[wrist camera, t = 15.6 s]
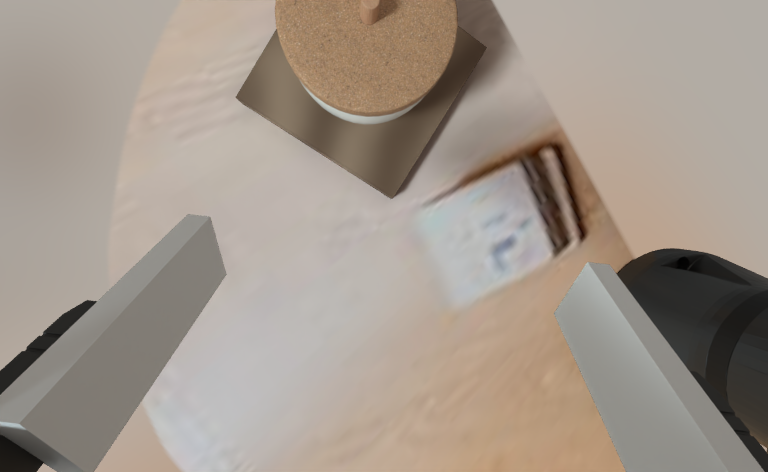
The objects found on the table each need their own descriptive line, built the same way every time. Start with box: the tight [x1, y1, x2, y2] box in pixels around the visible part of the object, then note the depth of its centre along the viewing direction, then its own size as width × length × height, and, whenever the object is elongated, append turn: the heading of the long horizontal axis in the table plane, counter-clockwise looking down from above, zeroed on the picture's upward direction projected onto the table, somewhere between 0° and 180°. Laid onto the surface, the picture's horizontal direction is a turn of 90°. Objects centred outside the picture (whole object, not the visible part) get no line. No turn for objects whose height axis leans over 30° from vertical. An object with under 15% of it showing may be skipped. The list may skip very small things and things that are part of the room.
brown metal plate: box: [236, 26, 487, 199], centre depth 27 cm, size 15×15×2 cm
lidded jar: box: [275, 0, 458, 125], centre depth 21 cm, size 11×11×9 cm
